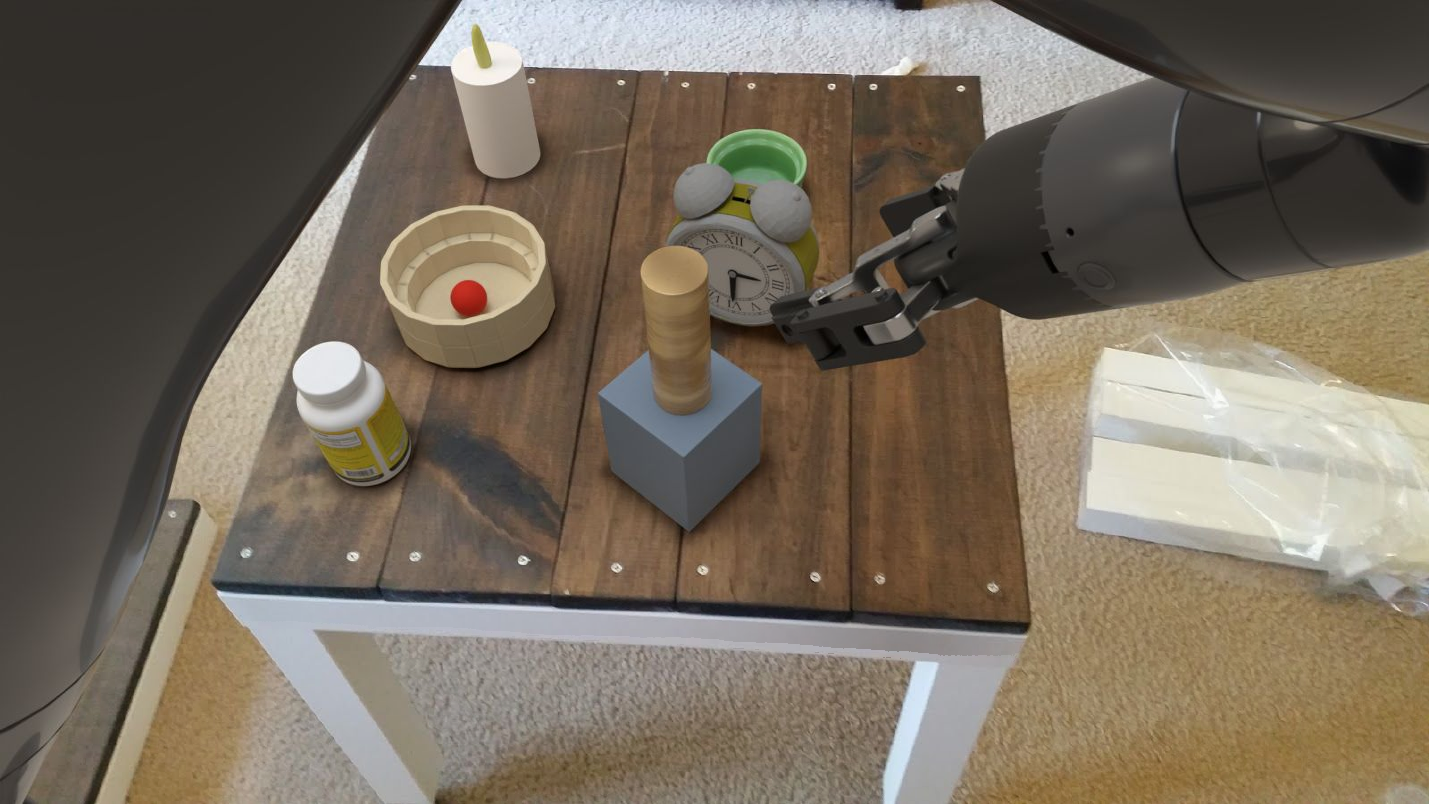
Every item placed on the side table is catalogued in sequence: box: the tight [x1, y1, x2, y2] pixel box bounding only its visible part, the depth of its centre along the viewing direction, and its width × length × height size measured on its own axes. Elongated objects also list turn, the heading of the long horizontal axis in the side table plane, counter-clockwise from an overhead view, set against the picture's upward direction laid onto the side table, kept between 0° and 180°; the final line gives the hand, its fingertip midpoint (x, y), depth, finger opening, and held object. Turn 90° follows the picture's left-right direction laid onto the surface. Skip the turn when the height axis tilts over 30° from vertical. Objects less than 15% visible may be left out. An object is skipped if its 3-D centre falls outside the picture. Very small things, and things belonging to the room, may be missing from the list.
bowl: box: [379, 204, 556, 369], centre depth 87 cm, size 13×13×6 cm
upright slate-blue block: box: [597, 348, 763, 533], centre depth 76 cm, size 8×8×10 cm
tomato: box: [450, 280, 487, 316], centre depth 87 cm, size 3×3×3 cm
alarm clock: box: [664, 162, 821, 327], centre depth 83 cm, size 12×7×15 cm, turn 70°
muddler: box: [640, 246, 712, 415], centre depth 66 cm, size 4×4×12 cm
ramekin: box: [706, 128, 808, 189], centre depth 95 cm, size 9×9×4 cm
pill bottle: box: [292, 341, 412, 487], centre depth 76 cm, size 6×6×11 cm
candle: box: [450, 23, 541, 179], centre depth 95 cm, size 6×6×15 cm
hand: (838, 270), depth 51 cm, fingers open, 8 cm apart
